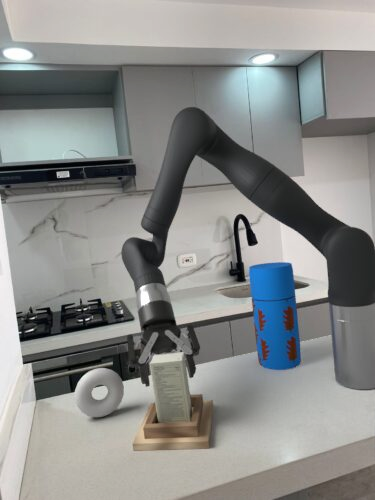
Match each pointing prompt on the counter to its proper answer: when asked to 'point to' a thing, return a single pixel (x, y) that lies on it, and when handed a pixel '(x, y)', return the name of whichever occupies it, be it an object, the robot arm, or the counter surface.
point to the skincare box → (171, 388)
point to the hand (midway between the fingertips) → (170, 380)
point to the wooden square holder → (176, 429)
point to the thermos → (275, 315)
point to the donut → (90, 382)
